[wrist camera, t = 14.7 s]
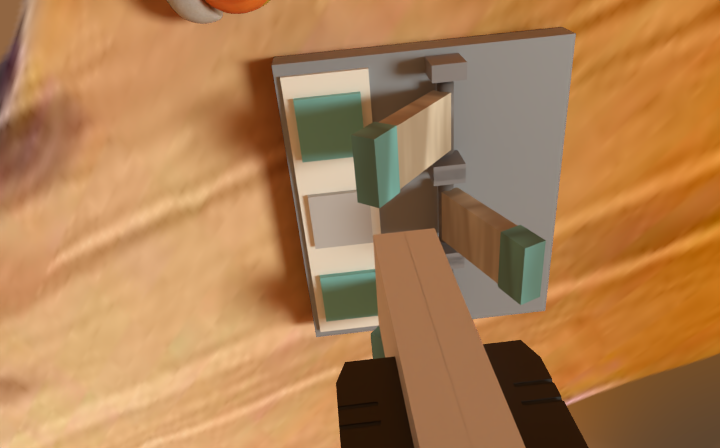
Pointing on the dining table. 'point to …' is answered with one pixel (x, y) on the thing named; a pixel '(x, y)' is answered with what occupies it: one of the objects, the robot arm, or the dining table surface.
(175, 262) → the dining table surface
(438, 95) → the lever
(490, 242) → the lever
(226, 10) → the rainbow disc wheeled toy
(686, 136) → the dining table surface
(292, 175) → the switch board
